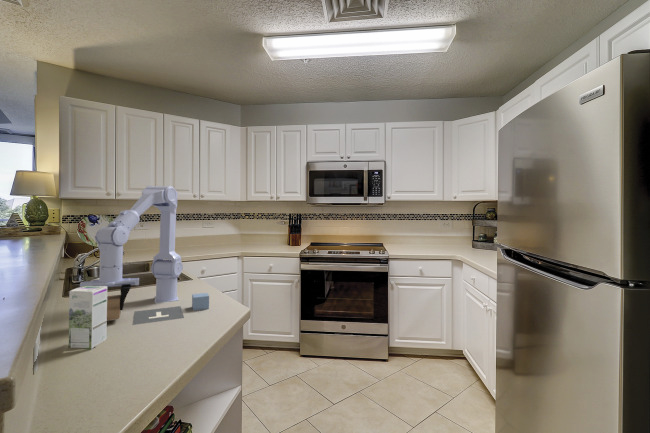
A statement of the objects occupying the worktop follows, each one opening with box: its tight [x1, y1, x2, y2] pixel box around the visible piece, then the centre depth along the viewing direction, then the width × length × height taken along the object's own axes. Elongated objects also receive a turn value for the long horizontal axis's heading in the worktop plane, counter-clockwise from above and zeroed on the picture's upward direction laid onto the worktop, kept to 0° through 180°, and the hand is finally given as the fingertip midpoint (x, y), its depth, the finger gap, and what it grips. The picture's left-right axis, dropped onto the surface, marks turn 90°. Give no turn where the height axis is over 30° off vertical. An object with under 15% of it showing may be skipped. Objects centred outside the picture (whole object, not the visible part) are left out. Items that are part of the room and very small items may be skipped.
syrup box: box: [68, 286, 108, 350], centre depth 77 cm, size 6×6×14 cm
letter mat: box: [132, 305, 185, 326], centre depth 99 cm, size 14×14×1 cm
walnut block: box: [107, 294, 122, 321], centre depth 92 cm, size 5×5×6 cm
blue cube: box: [191, 292, 210, 312], centre depth 108 cm, size 5×5×5 cm
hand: (110, 310), depth 92 cm, fingers closed on walnut block, 5 cm apart
